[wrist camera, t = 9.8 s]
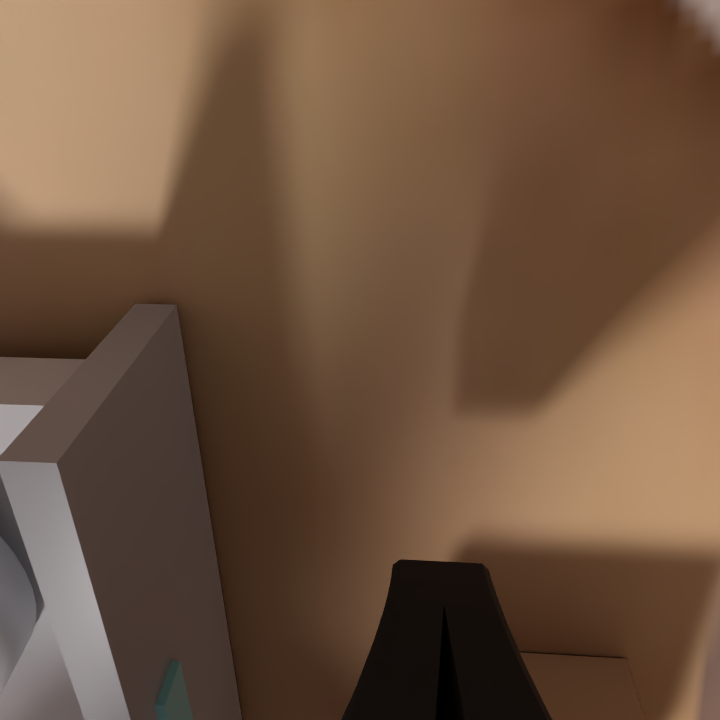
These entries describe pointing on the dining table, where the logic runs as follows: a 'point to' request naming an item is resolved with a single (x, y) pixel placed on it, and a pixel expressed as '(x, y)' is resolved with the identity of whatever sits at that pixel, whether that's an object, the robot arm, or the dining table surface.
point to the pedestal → (584, 687)
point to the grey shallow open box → (113, 533)
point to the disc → (13, 612)
